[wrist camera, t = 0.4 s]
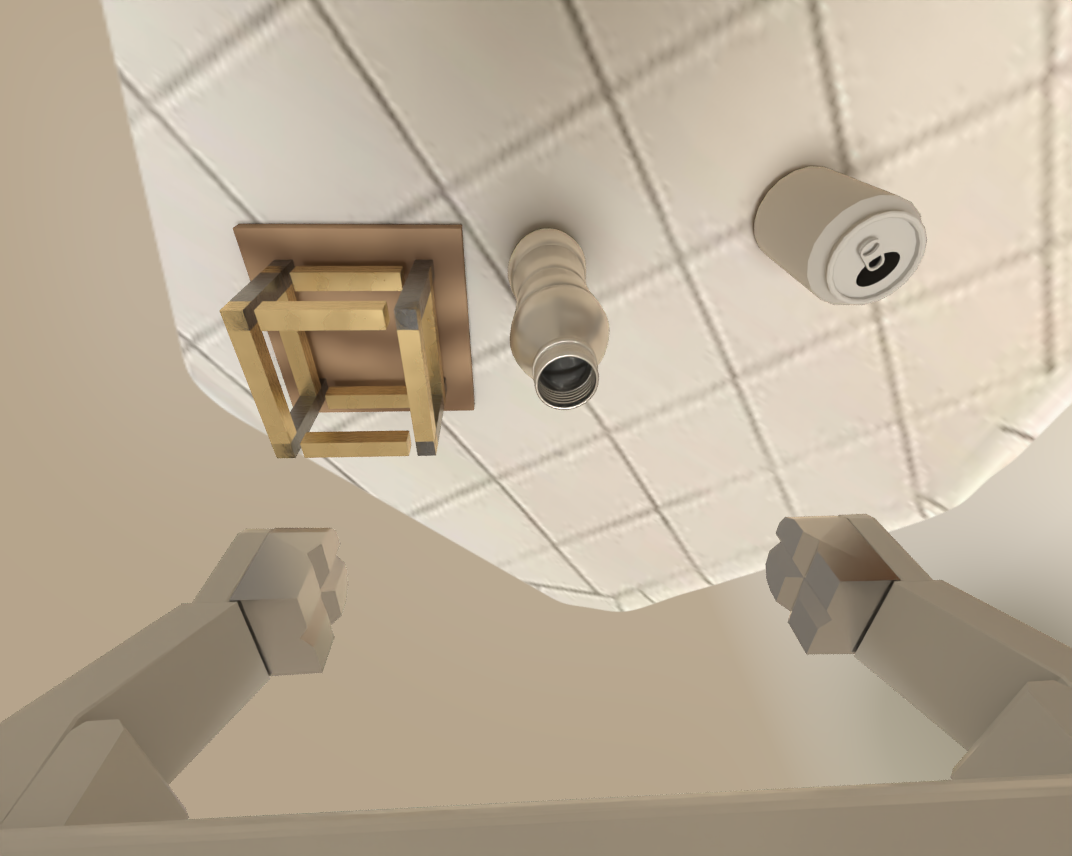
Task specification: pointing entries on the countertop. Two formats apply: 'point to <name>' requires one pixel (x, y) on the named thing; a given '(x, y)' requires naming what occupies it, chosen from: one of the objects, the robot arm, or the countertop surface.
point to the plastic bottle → (556, 319)
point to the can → (840, 235)
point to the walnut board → (371, 351)
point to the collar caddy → (277, 310)
